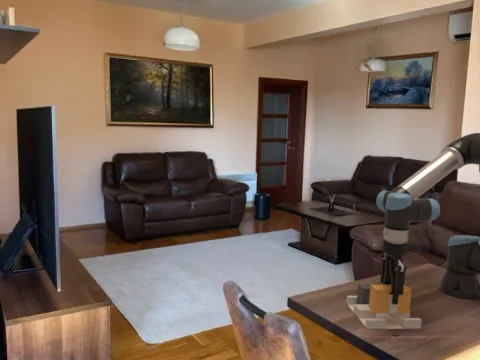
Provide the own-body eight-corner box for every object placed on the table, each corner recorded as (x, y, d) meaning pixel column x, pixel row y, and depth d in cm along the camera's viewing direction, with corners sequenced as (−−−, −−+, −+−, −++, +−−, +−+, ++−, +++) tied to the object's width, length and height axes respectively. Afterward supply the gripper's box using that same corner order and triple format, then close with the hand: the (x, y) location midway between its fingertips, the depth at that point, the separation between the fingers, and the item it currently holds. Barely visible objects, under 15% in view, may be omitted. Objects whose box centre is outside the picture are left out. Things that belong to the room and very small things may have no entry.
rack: (393, 305, 162) (394, 295, 161) (420, 331, 142) (421, 320, 142) (346, 305, 160) (346, 295, 160) (367, 331, 140) (368, 320, 140)
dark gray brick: (388, 304, 160) (390, 283, 159) (393, 310, 155) (395, 288, 154) (356, 305, 158) (358, 283, 157) (361, 310, 154) (362, 288, 153)
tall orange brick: (402, 307, 148) (405, 284, 147) (409, 313, 143) (411, 289, 142) (368, 307, 147) (370, 284, 146) (374, 313, 142) (376, 289, 141)
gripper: (373, 233, 150) (368, 298, 153) (396, 248, 133) (389, 321, 136) (394, 234, 151) (388, 298, 154) (419, 248, 134) (412, 321, 137)
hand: (389, 309), depth 145 cm, fingers closed on tall orange brick, 4 cm apart
